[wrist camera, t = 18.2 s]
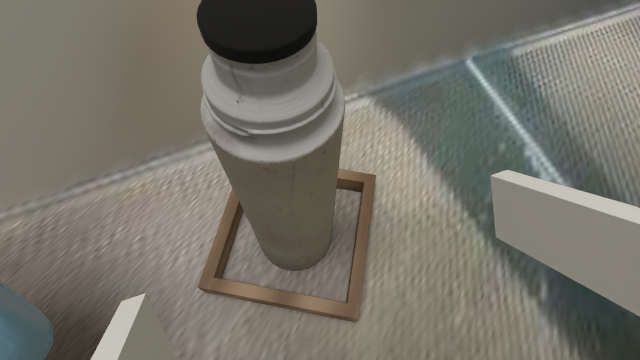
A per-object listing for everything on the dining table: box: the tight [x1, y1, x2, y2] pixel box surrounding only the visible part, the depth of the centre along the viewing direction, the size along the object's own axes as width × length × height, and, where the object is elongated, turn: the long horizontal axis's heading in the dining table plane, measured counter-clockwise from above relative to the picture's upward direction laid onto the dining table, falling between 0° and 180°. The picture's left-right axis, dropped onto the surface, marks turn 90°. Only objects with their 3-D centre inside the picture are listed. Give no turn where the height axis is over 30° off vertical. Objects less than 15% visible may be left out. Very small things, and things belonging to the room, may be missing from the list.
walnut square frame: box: [198, 169, 376, 322], centre depth 37 cm, size 16×16×2 cm
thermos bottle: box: [197, 0, 345, 271], centre depth 26 cm, size 8×8×28 cm
